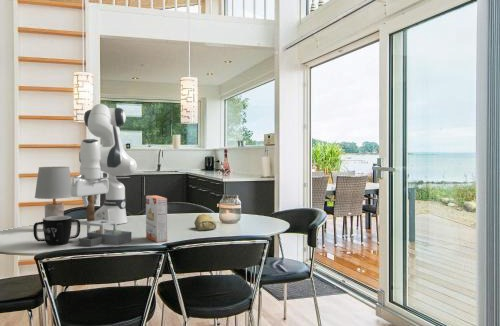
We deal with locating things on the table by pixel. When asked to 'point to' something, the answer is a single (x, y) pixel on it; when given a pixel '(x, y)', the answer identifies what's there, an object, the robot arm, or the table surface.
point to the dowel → (90, 208)
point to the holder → (90, 241)
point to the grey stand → (108, 232)
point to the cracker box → (156, 218)
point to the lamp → (53, 188)
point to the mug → (56, 230)
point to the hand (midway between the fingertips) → (90, 205)
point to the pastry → (204, 223)
